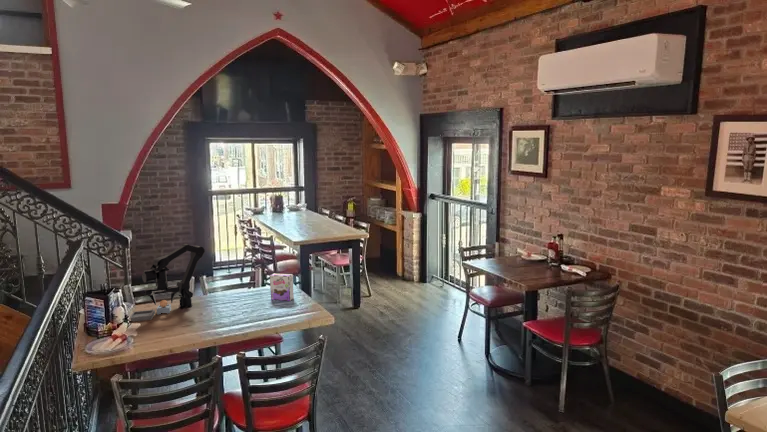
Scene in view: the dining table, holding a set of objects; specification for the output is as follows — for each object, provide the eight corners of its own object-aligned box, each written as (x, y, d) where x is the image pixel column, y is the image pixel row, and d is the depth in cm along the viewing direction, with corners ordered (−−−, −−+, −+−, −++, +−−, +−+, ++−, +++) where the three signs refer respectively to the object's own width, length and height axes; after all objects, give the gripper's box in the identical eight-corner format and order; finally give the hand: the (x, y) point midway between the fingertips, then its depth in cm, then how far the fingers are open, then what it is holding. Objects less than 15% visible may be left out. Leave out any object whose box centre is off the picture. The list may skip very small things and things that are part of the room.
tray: (155, 313, 318) (154, 309, 318) (151, 319, 307) (151, 315, 307) (133, 315, 315) (133, 311, 315) (129, 321, 304) (129, 317, 304)
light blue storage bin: (171, 309, 325) (170, 304, 324) (169, 313, 318) (169, 307, 318) (158, 310, 323) (158, 305, 323) (156, 314, 316) (156, 308, 316)
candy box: (270, 300, 339) (269, 275, 337) (275, 297, 345) (273, 272, 343) (290, 301, 335) (288, 276, 333) (294, 298, 341) (292, 273, 339)
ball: (168, 305, 323) (167, 298, 322) (167, 307, 319) (166, 300, 318) (160, 306, 322) (159, 299, 321) (159, 308, 318) (158, 301, 317)
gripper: (179, 274, 328) (181, 298, 330) (147, 277, 323) (149, 301, 325) (177, 278, 317) (179, 303, 319) (143, 281, 313) (146, 307, 315)
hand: (163, 303), depth 320 cm, fingers open, 9 cm apart
